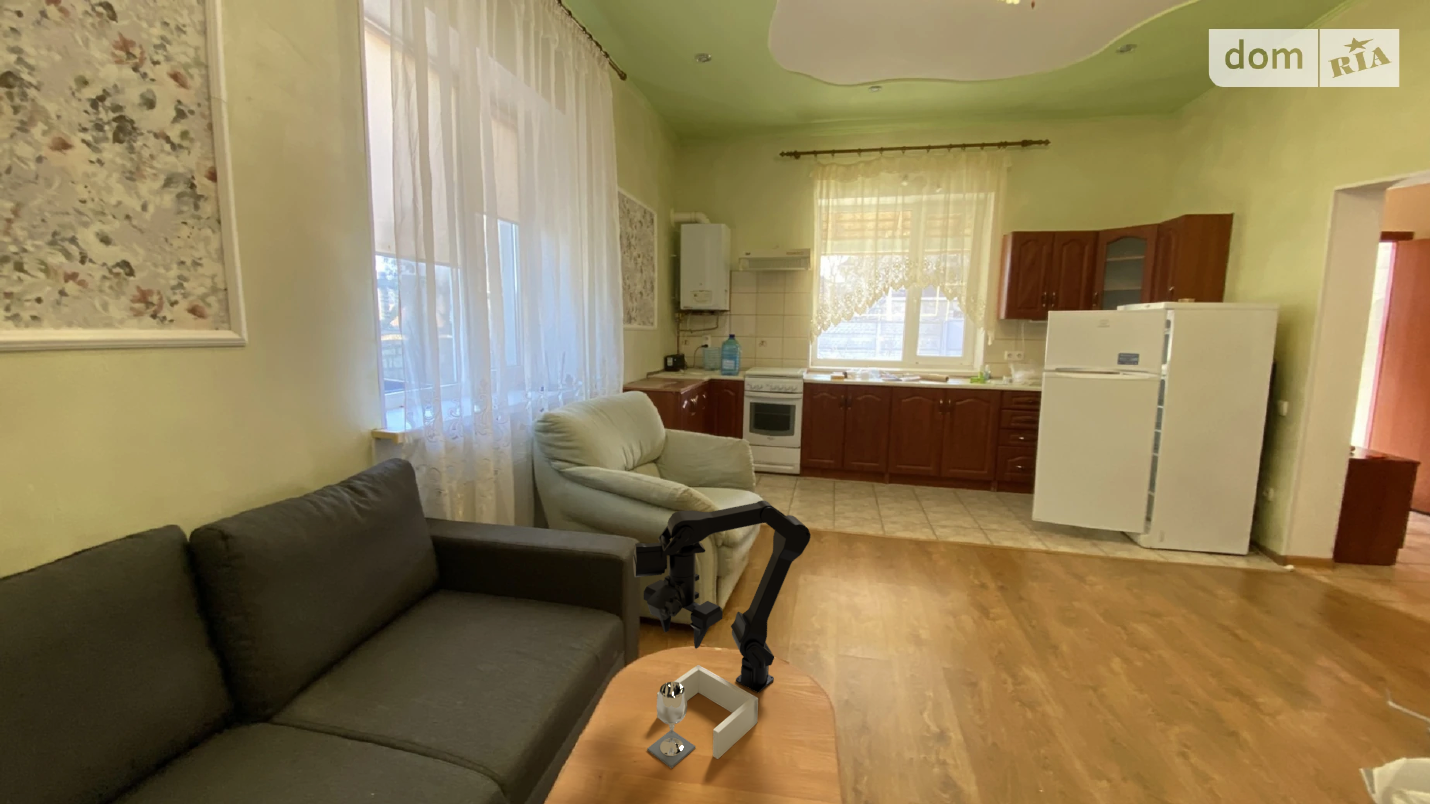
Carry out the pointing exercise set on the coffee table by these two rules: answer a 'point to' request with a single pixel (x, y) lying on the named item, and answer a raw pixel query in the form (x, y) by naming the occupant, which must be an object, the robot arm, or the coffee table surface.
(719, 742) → the corner wall
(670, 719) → the wineglass
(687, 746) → the felt mat
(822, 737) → the coffee table surface
